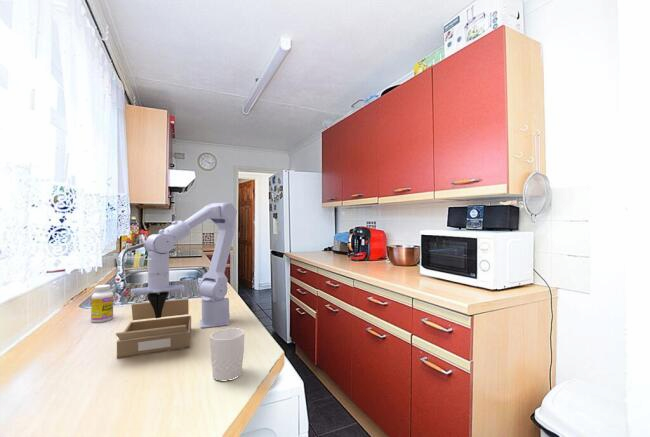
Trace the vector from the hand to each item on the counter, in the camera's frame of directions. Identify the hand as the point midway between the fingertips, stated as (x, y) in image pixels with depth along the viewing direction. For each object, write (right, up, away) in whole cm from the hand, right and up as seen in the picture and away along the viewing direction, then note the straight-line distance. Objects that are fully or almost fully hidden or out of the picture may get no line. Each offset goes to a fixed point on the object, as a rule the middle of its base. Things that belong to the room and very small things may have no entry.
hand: (158, 317), depth 94 cm
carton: (0, -8, 0) cm, 8 cm away
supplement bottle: (-32, -8, +20) cm, 39 cm away
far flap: (-3, +1, +6) cm, 7 cm away
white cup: (+28, -8, -20) cm, 35 cm away
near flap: (+4, -1, -10) cm, 11 cm away
